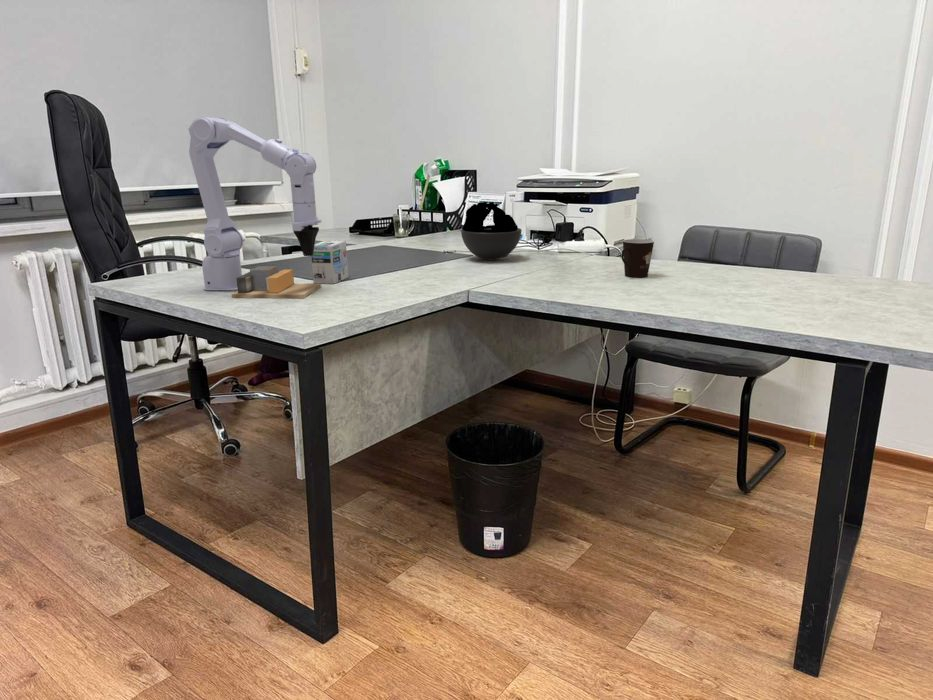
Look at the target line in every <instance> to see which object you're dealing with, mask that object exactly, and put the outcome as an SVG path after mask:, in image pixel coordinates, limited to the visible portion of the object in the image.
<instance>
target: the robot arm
mask: <svg viewBox="0 0 933 700" xmlns="http://www.w3.org/2000/svg"><path fill="white" fill-rule="evenodd" d="M188 133H189V135H190V141H189V151H188V152H189V153H188V154H189V158H190V161H191V165H192V169H193V172H194V176H195V180H196V184H197V187H198V191H199V194H200V198H201V201H202V205H203V208H204V213H205V216H206V221H207V222H206V225H205V226H204V228H203V229H202V230H203V234H204V240H203V247H204V249H205V251H206V252H207V253H208V254H209V255H206V256H204V257H203V260H202V263H201V264H202V266H201V268H202V275H203V283H204V288H203V290H204V291H238V288H237V279H236V278H237V277H239V276H242V275H243V272H242V264H241V263H242V262H241V256H240V254H241V251H240V250H241V249H242V248H243V246H244V239H243V235H242V234H241V232H240V231H239V229H238V227H237V224H236V222H235V221H233V219H231V218H230V216H229V212H228V209H227V206H226V205H227V204H226V201H225V197H224V194H223V189H222V186H221V182H220V179H219V176H218V175H219V174H218V171H217V167H216V163H215V160H214V158H215V156H216V154H217V153H218V151H219V150H220V149H221V148H223V147H224V146H225V145H228V143H229V142H230V141H235V142H237V143H239V144H240V145H243V146H245V147H247V148H250V149H251V150H254V151H257V152H258V153H260V154H261V158H262V159H263V161H266V162H267V163H270V164H272V165H273V166H276V167H277V168H279V169H281V170H283V171H285V172H286V174H287V175H288V177H289V179H290V190H291V198H292V199H291V201H292V202H291V203H292V211H293V213H292V214H293V220H292V221H293V222H292V223H291V225H292V227H291V228H292V232H293V233H294V236H295V237H296V238H297V241H298V243H299V245H300V249H301V252H302V255H303V256H304V257H311V256H312V255H313V252H314V245H315V244H316V238H317V235H318V233H319V231H320V227H318V226H317V225H319V224H321V223H322V219H319V218H318V216H317V206H316V205H317V204H316V194H315V181H314V174H315V173H316V171H317V162H316V160H315V159H314V157H313V156H312V155H310V153H307V152H303V153H302V152H301V153H300V152H299V151H300V150H299V149H298V148H296V147H293V148H292V147H290V146H288V145H286V144H284V143H283V140H282V139H279V138H270V139H268V140H265V139H264V138H262V137H260V136H258V135H257V134H255V133H254V132H251V131H249V130H248V129H246V128H244V127H243V126H241V125H239V124H238V123H235V122H234V121H231V120H228V119H226V118H224V117H223V118H222V117H218V118H217V117H206V116H198V117H196V118H194V120H193V121H192V122H191V124H190V126H189V128H188Z"/></svg>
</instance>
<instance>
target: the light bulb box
mask: <svg viewBox="0 0 933 700" xmlns="http://www.w3.org/2000/svg"><path fill="white" fill-rule="evenodd" d="M310 257H311V265H312V279H313V281H312V282H313V284H330V285H331V284H332V285H333V284H337V283H340V282H341V280H342V281H343V280H346V279H348V278H349V268H348V253H347V242H346V240H324V241H321V242H320V241H319V242H317V243H315V245H314V252H313V255H312V256H310Z"/></svg>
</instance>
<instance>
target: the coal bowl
mask: <svg viewBox="0 0 933 700" xmlns="http://www.w3.org/2000/svg"><path fill="white" fill-rule="evenodd" d="M500 205H501V204H500V203H494V201H490V202H488V201H484V202H483V201H482V202H477V204H476V203H473V204H472V205H471V206H470V207H468V208H467V209H466V210H465V221H464V223H463V225H462V227H461V230H460V234H461V238H462V241H463V243H464V245H465V247H466V248H467V250H468V251H469V252H471V253H472V254H473V255H474V256H475V257H477V258H479V259H482V260H487V261H495V260H500V259H502V258H504V257H505V258H506V257H507V256H508V255H509V254H511V253H512V252H513V251H514V250H515V249H516V247H517V246H518V244H519V242H520V240H521V235H522V228H520V227H518V225H517V222H516V221H515V220H514V218H513V216H512V215H511V214H507V213H506V212H505V210H504V209H502V208H500V207H499V206H500ZM491 212H493V213H492V222H493V224H489V225H484V222H485V220H486V218H487V217H488V216H489V214H490V213H491Z"/></svg>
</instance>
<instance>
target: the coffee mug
mask: <svg viewBox="0 0 933 700" xmlns="http://www.w3.org/2000/svg"><path fill="white" fill-rule="evenodd" d="M654 243H655V240H652V239H646V238H645V239H644V238H643V239H642V238H629V239H624V240H622V251H621V255H620V256H621V257H620V258H621V261H622V263H623V267H624V268H623V269H624V277H626V278H631V279H645V278H648V276H649V270H650V265H651V260H652V255H653V250H654Z"/></svg>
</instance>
